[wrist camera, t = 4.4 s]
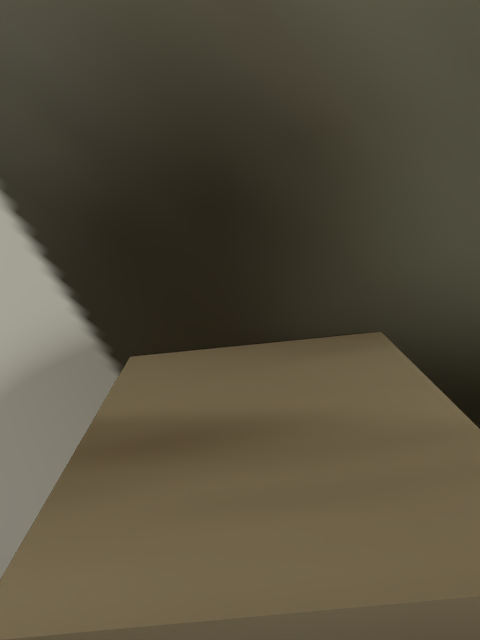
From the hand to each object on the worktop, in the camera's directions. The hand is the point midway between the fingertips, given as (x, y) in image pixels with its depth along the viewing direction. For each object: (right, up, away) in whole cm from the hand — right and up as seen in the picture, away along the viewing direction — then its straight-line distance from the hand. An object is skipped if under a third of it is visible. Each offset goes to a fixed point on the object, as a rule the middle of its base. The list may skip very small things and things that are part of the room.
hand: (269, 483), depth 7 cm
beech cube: (0, 0, +1) cm, 1 cm away
